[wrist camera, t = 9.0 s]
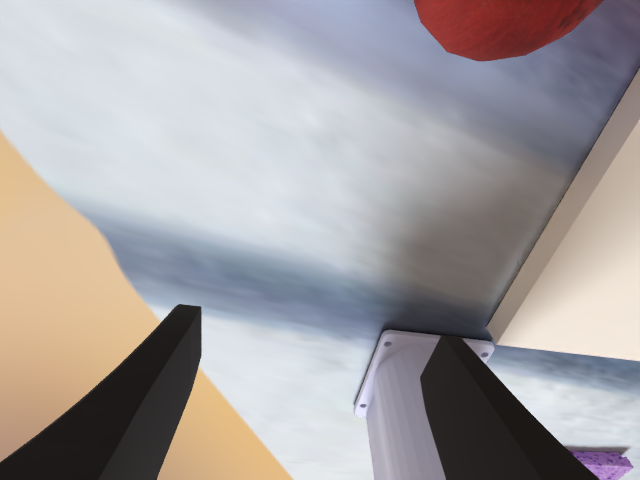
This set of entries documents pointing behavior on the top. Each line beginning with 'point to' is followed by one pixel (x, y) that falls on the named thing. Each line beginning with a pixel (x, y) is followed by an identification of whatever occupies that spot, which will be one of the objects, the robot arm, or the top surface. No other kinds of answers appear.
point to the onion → (500, 24)
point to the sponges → (604, 464)
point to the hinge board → (586, 256)
